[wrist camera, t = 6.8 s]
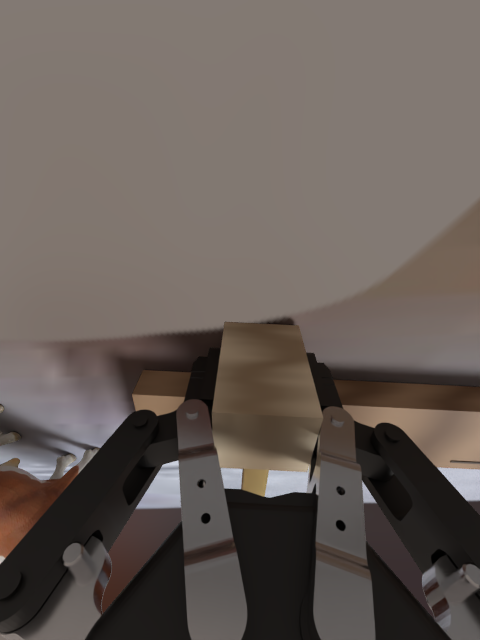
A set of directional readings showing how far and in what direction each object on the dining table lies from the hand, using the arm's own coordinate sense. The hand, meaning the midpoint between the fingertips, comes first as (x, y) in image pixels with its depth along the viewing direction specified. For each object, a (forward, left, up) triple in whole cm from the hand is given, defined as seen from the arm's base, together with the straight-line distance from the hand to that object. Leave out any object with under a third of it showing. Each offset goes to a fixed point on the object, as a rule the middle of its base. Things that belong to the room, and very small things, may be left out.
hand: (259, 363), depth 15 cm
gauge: (0, +3, -1) cm, 3 cm away
